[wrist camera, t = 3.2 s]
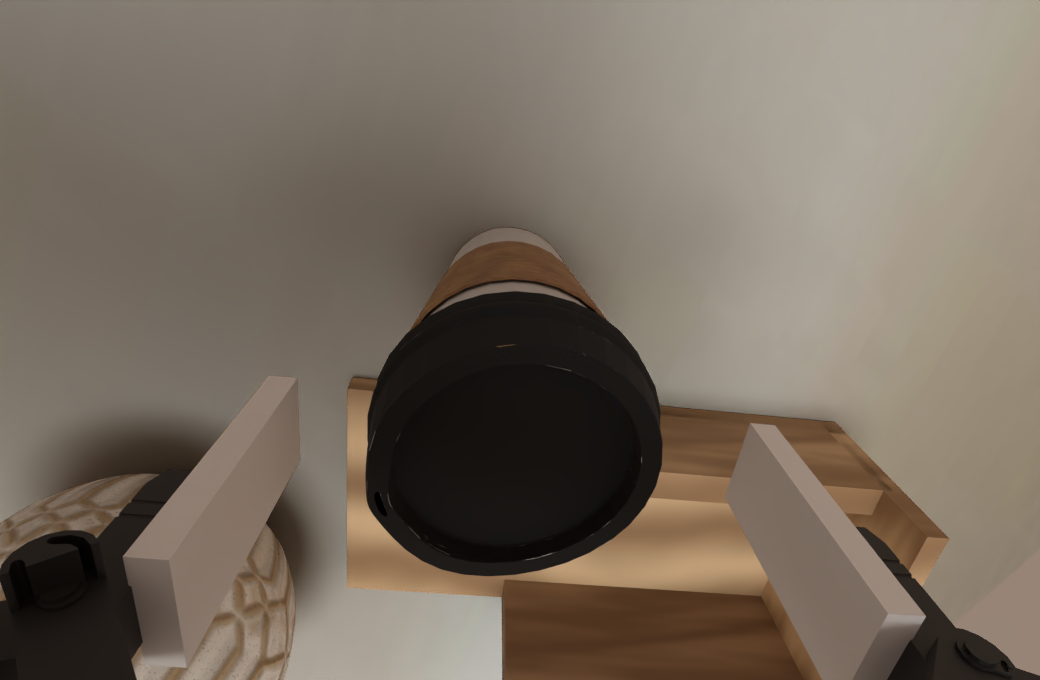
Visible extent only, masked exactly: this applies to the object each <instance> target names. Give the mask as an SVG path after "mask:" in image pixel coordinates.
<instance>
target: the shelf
mask: <svg viewBox="0 0 1040 680" xmlns="http://www.w3.org/2000/svg"><path fill="white" fill-rule="evenodd" d="M376 384H377V380H375V379H364V378H354V377H353V378H352V380H351V383H350V385H349V387H348V389H347V588H363V589H380V590H396V591H412V592H428V593H445V594H461V595H477V596H493V597H502V680H822V678H821V677H820V675H819V673H818V671H817V669H816V667H815V665H814V663H813V662H812V660H811V658H810V656H809V654H808V652H807V650H806V648H805V647H804V645H803V643H802V641H801V639H800V637H799V635H798V633H797V632H796V630H795V628H794V626H793V624H792V622H791V620H790V618H789V617H788V615H787V613H786V611H785V609H784V607H783V605H782V603H781V602H780V600H779V598H778V596H777V594H776V592H775V590H774V588H773V586H772V585H771V583H770V581H769V579H768V577H767V575H766V573H765V571H764V570H763V568H762V566H761V564H760V562H759V560H758V558H757V556H756V555H755V553H754V551H753V549H752V547H751V545H750V543H749V541H748V540H747V538H746V536H745V534H744V532H743V530H742V528H741V526H740V525H739V523H738V521H737V519H736V517H735V515H734V513H733V511H732V510H731V508H730V506H729V504H728V502H727V500H726V498H725V495H726V492H727V489H728V486H729V483H730V480H731V477H732V474H733V471H734V469H735V466H736V463H737V460H738V457H739V454H740V451H741V448H742V445H743V442H744V439H745V437H746V434H747V431H748V428H749V425H750V423H756V424H766V425H775V426H776V427H777V429H778V430H779V431H780V432H781V434H782V435H783V436H784V437H785V439H786V440H787V441H788V442H789V444H790V445H791V446H792V447H793V449H794V450H795V451H796V453H797V454H798V455H799V456H800V458H801V459H802V460H803V461H804V463H805V464H806V465H807V466H808V468H809V469H810V470H811V471H812V473H813V474H814V475H815V477H816V478H817V479H818V480H819V482H820V483H821V484H822V485H823V487H824V488H825V489H826V490H827V492H828V493H829V494H830V495H831V497H832V498H833V499H834V501H835V502H836V503H837V504H838V506H839V507H840V508H841V509H842V511H843V512H844V513H845V514H846V516H847V517H848V518H849V520H850V521H851V522H852V523H853V525H854V526H855V527H865V528H867V529H868V530H869V531H871V532H872V533H873V534H874V535H876V536H877V537H878V538H880V539H881V540H882V541H883V542H885V543H886V544H887V546H888V547H889V548H890V549H891V550H892V552H893V553H894V554H895V555H896V556H897V558H898V559H899V560H900V564H903V565H904V566H905V567H906V568H907V570H908V571H909V572H910V573H911V574H912V578H915V579H916V580H917V582H918V583H919V584H920V585H921V587H922V585H923V584H924V582H925V580H926V578H927V577H928V575H929V573H930V571H931V570H932V568H933V566H934V565H935V563H936V561H937V559H938V558H939V556H940V554H941V552H942V551H943V549H944V547H945V546H946V544H947V542H948V540H949V538H948V537H947V536H946V535H945V534H944V533H943V532H942V531H941V530H940V529H939V528H938V527H937V526H936V525H935V524H934V523H933V522H932V521H931V520H930V519H929V518H928V516H927V515H926V514H925V513H924V512H923V511H922V510H921V509H920V508H919V507H918V506H917V505H916V504H915V503H914V502H913V501H912V500H911V499H910V498H909V497H908V496H907V495H906V494H905V493H904V492H903V491H902V490H901V489H900V488H899V487H898V486H897V485H896V484H895V483H894V482H893V481H892V480H891V479H890V478H889V477H888V476H887V475H886V474H885V473H884V472H883V471H882V470H881V469H880V468H879V466H878V465H877V464H876V463H875V462H874V461H873V460H872V459H871V458H870V457H869V456H868V455H867V454H866V453H865V452H864V451H863V450H862V449H861V448H860V447H859V446H858V445H857V444H856V443H855V442H854V441H853V440H852V439H851V438H850V437H849V436H848V435H847V434H846V433H845V432H844V431H843V430H842V429H841V428H840V427H839V426H838V425H837V424H836V423H835V422H827V421H816V420H805V419H795V418H784V417H773V416H762V415H752V414H741V413H730V412H719V411H708V410H698V409H687V408H676V407H665V406H660V410H661V416H660V429H661V435H662V441H663V448H662V467H661V470H660V474H659V477H658V481H657V484H656V487H655V489H654V491H653V493H652V495H651V496H650V498H649V500H648V502H647V504H646V506H645V507H644V508H643V510H642V511H641V512H640V513H639V514H638V516H637V517H636V518H635V519H634V520H633V521H632V523H631V524H630V525H629V526H628V527H626V528H625V529H624V530H623V531H622V532H620V533H619V534H618V535H617V536H616V537H614V538H613V539H612V540H610V541H609V542H607V543H605V544H604V545H602V546H600V547H599V548H597V549H595V550H593V551H592V552H590V553H588V554H586V555H583V556H581V557H579V558H576V559H574V560H572V561H569V562H567V563H564V564H561V565H557V566H554V567H550V568H547V569H544V570H540V571H534V572H529V573H523V574H517V575H505V576H475V575H463V574H458V573H454V572H450V571H445V570H441V569H439V568H437V567H434V566H432V565H430V564H428V563H425V562H423V561H421V560H420V559H418V558H417V557H415V556H414V555H413V554H411V553H410V552H408V551H407V550H405V549H404V548H403V547H402V546H401V545H400V544H399V543H398V542H397V541H396V540H395V539H394V538H393V537H392V536H391V535H390V534H389V533H388V532H387V531H386V530H385V529H384V528H383V526H382V525H381V524H380V523H379V522H378V520H377V519H376V518H375V517H374V515H373V514H372V512H371V511H370V509H369V507H368V504H367V498H366V481H365V473H366V456H367V447H368V441H367V415H368V411H369V407H370V403H371V399H372V395H373V391H374V389H375V387H376Z"/></svg>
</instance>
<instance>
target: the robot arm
mask: <svg viewBox="0 0 1040 680" xmlns="http://www.w3.org/2000/svg"><path fill="white" fill-rule="evenodd" d="M299 461H300V437H299V409H298V382H297V378H290V377H280V376H270V375H269V376H268V378H267V379H266V380H265V381H264V383H263V384H262V385H261V386H260V387H259V389H258V390H257V391H256V392H255V394H254V395H253V396H252V397H251V399H250V400H249V401H248V402H247V404H246V405H245V406H244V407H243V409H242V410H241V411H240V412H239V413H238V415H237V416H236V417H235V418H234V420H233V421H232V422H231V423H230V425H229V426H228V427H227V428H226V430H225V431H224V432H223V433H222V434H221V436H220V437H219V438H218V439H217V441H216V442H215V443H214V444H213V446H212V447H211V448H210V449H209V451H208V452H207V453H206V454H205V456H204V457H203V458H202V459H201V460H200V462H199V463H198V464H197V465H196V467H195V468H194V469H193V470H192V471H186V470H174V469H168V470H166V471H165V472H163V473H162V474H160V475H158V476H157V477H155V478H153V479H152V480H150V481H148V482H147V483H146V484H145V485H144V486H143V487H142V488H141V489H140V490H139V492H138V493H137V494H136V495H135V496H134V497H133V498H132V501H131V503H128V504H127V505H126V506H125V507H124V508H123V509H122V510H121V512H120V513H119V516H118V517H115V518H114V519H113V521H112V522H111V523H110V524H109V525H108V526H107V527H106V528H105V529H104V531H103V532H102V533H101V534H100V535H99V536H98V537H97V538H96V537H95V536H94V535H93V534H91V533H88V532H85V531H82V530H64V531H59V532H55V533H50V534H46V535H44V536H41V537H39V538H36V539H34V540H32V541H29V542H27V543H26V544H24V545H23V546H21V547H20V548H18V549H17V550H15V551H14V552H12V553H11V554H10V555H9V557H8V558H7V559H6V560H5V561H4V562H3V563H2V565H1V568H0V583H1V586H2V589H3V592H4V595H5V598H6V600H4V601H0V680H137V678H136V675H135V671H134V668H133V664H132V661H131V660H132V658H133V657H134V655H135V653H136V652H137V650H138V649H139V647H140V646H141V647H142V652H143V657H144V662H145V665H149V666H165V667H182V668H187V666H188V665H189V663H190V661H191V659H192V657H193V655H194V654H195V652H196V650H197V648H198V646H199V644H200V643H201V641H202V639H203V637H204V635H205V633H206V632H207V630H208V628H209V626H210V624H211V622H212V621H213V619H214V617H215V615H216V613H217V611H218V610H219V608H220V606H221V604H222V602H223V600H224V599H225V597H226V595H227V593H228V591H229V589H230V588H231V586H232V584H233V582H234V580H235V578H236V577H237V575H238V573H239V571H240V569H241V567H242V566H243V564H244V562H245V560H246V558H247V556H248V555H249V553H250V551H251V549H252V547H253V545H254V543H255V542H256V540H257V538H258V536H259V534H260V532H261V531H262V529H263V527H264V525H265V523H266V521H267V520H268V518H269V516H270V514H271V512H272V510H273V509H274V507H275V505H276V503H277V501H278V499H279V498H280V496H281V494H282V492H283V490H284V488H285V487H286V485H287V483H288V481H289V479H290V477H291V476H292V474H293V472H294V470H295V468H296V466H297V465H298V463H299ZM725 498H726V500H727V502H728V504H729V506H730V508H731V510H732V511H733V513H734V515H735V517H736V519H737V521H738V523H739V525H740V526H741V528H742V530H743V532H744V534H745V536H746V538H747V540H748V541H749V543H750V545H751V547H752V549H753V551H754V553H755V555H756V556H757V558H758V560H759V562H760V564H761V566H762V568H763V570H764V571H765V573H766V575H767V577H768V579H769V581H770V583H771V585H772V586H773V588H774V590H775V592H776V594H777V596H778V598H779V600H780V602H781V603H782V605H783V607H784V609H785V611H786V613H787V615H788V617H789V618H790V620H791V622H792V624H793V626H794V628H795V630H796V632H797V633H798V635H799V637H800V639H801V641H802V643H803V645H804V647H805V648H806V650H807V652H808V654H809V656H810V658H811V660H812V662H813V663H814V665H815V667H816V669H817V671H818V673H819V675H820V677H821V678H822V680H1040V676H1038V675H1035V674H1032V673H1029V672H1026V671H1023V670H1020V669H1017V668H1015V666H1014V665H1013V664H1012V662H1011V661H1010V660H1009V658H1008V657H1007V656H1006V655H1005V654H1004V653H1002V652H1001V651H1000V650H999V649H998V648H997V647H996V646H994V645H993V644H991V643H990V642H988V641H987V640H985V639H983V638H982V637H980V636H979V635H976V634H974V633H971V632H969V631H967V630H964V629H959V628H955V626H954V625H953V624H952V623H951V621H950V620H949V619H948V618H947V617H946V615H945V614H944V613H943V612H942V611H941V609H940V608H939V607H938V606H937V605H936V603H935V602H934V601H933V600H932V599H931V597H930V596H929V595H928V594H927V593H926V591H925V590H924V589H923V588H922V587H921V585H920V584H919V583H918V582H917V580H916V579H915V578H912V574H911V573H910V572H909V571H908V570H907V568H906V567H905V566H904V565H903V564H900V560H899V559H898V558H897V556H896V555H895V554H894V553H893V552H892V550H891V549H890V548H889V547H888V546H887V544H886V543H885V542H883V541H882V540H881V539H880V538H878V537H877V536H876V535H874V534H873V533H872V532H871V531H869V530H868V529H867V528H865V527H855V526H854V525H853V523H852V522H851V521H850V520H849V518H848V517H847V516H846V514H845V513H844V512H843V511H842V509H841V508H840V507H839V506H838V504H837V503H836V502H835V501H834V499H833V498H832V497H831V495H830V494H829V493H828V492H827V490H826V489H825V488H824V487H823V485H822V484H821V483H820V482H819V480H818V479H817V478H816V477H815V475H814V474H813V473H812V471H811V470H810V469H809V468H808V466H807V465H806V464H805V463H804V461H803V460H802V459H801V458H800V456H799V455H798V454H797V453H796V451H795V450H794V449H793V447H792V446H791V445H790V444H789V442H788V441H787V440H786V439H785V437H784V436H783V435H782V434H781V432H780V431H779V430H778V429H777V427H776V426H775V425H766V424H756V423H750V425H749V428H748V431H747V434H746V437H745V439H744V442H743V445H742V448H741V451H740V454H739V457H738V460H737V463H736V466H735V469H734V471H733V474H732V477H731V480H730V483H729V486H728V489H727V492H726V495H725Z"/></svg>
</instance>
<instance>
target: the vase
mask: <svg viewBox="0 0 1040 680" xmlns="http://www.w3.org/2000/svg"><path fill="white" fill-rule="evenodd" d="M158 475H160V474H128V475H120V476H115V477H110V478H105V479H100V480H96V481H91V482H88V483H84V484H81V485H78V486H75V487H72V488H69V489H66V490H64V491H61V492H58V493H56V494H54V495H51V496H49V497H47V498H45V499H42V500H40V501H38V502H36V503H34V504H32V505H29V506H27V507H26V508H24V509H22V510H21V511H19V512H17V513H16V514H14V515H12V516H11V517H9V518H8V519H6V520H4V521H3V522H1V523H0V568H1V565H2V563H3V562H4V561H5V560H6V559H7V558H8V557H9V555H10V554H11V553H12V552H14V551H15V550H17V549H18V548H20V547H21V546H23V545H24V544H26V543H27V542H29V541H32V540H34V539H36V538H39V537H41V536H44V535H46V534H50V533H55V532H59V531H64V530H82V531H85V532H88V533H91V534H93V535H94V536H95V537H96V538H97V537H98V536H99V535H100V534H101V533H102V532H103V531H104V529H105V528H106V527H107V526H108V525H109V524H110V523H111V522H112V521H113V519H114V518H115V517H118V516H119V513H120V512H121V510H122V509H123V508H124V507H125V506H126V505H127V504H128V503H131V501H132V498H133V497H134V496H135V495H136V494H137V493H138V492H139V490H140V489H141V488H142V487H143V486H144V485H145V484H146V483H147V482H148V481H150V480H152V479H153V478H155V477H157V476H158ZM4 600H6V598H5V595H4V592H3V589H2V586H1V583H0V601H4ZM294 629H295V595H294V588H293V581H292V576H291V572H290V568H289V565H288V562H287V559H286V556H285V553H284V551H283V549H282V547H281V545H280V543H279V541H278V539H277V538H276V536H275V535H274V533H273V532H272V531H271V529H270V528H269V527H268V526H267V524H266V523H265V525H264V527H263V529H262V531H261V532H260V534H259V536H258V538H257V540H256V542H255V543H254V545H253V547H252V549H251V551H250V553H249V555H248V556H247V558H246V560H245V562H244V564H243V566H242V567H241V569H240V571H239V573H238V575H237V577H236V578H235V580H234V582H233V584H232V586H231V588H230V589H229V591H228V593H227V595H226V597H225V599H224V600H223V602H222V604H221V606H220V608H219V610H218V611H217V613H216V615H215V617H214V619H213V621H212V622H211V624H210V626H209V628H208V630H207V632H206V633H205V635H204V637H203V639H202V641H201V643H200V644H199V646H198V648H197V650H196V652H195V654H194V655H193V657H192V659H191V661H190V663H189V665H188V666H187V668H182V667H165V666H149V665H145V662H144V657H143V652H142V647H141V646H140V647H139V649H138V650H137V652H136V653H135V655H134V657H133V658H132V660H131V661H132V664H133V668H134V671H135V675H136V678H137V680H284V677H285V674H286V670H287V666H288V662H289V658H290V653H291V649H292V643H293V636H294Z"/></svg>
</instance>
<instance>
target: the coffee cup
mask: <svg viewBox="0 0 1040 680" xmlns="http://www.w3.org/2000/svg"><path fill="white" fill-rule="evenodd" d="M660 416H661V410H660V406H659V401H658V397H657V393H656V388H655V385H654V383H653V381H652V379H651V377H650V375H649V373H648V371H647V369H646V367H645V365H644V364H643V362H642V361H641V359H640V356H639V354H638V352H637V351H636V350H635V349H634V347H633V346H632V345H631V344H630V342H629V341H628V340H627V339H626V337H625V336H624V335H623V334H622V333H621V332H620V331H619V330H618V329H617V328H615V327H614V326H613V325H612V324H611V323H609V322H608V321H607V319H606V318H605V317H604V315H603V314H602V313H601V311H600V310H599V309H598V307H597V306H596V305H595V303H594V302H593V301H592V300H591V298H590V297H589V296H588V294H587V293H586V292H585V290H584V289H583V288H582V286H581V285H580V284H579V282H578V281H577V280H576V278H575V277H574V276H573V274H572V273H571V272H570V271H569V269H568V268H567V267H566V266H565V264H564V262H563V261H562V259H561V258H560V256H559V255H558V254H557V252H556V251H555V250H554V249H553V247H552V246H551V245H550V244H549V243H547V242H546V241H545V240H544V239H542V238H541V237H539V236H537V235H535V234H534V233H532V232H529V231H525V230H522V229H518V228H497V229H492V230H489V231H486V232H483V233H481V234H479V235H477V236H476V237H474V238H472V239H471V240H470V241H469V242H467V243H466V244H465V245H464V246H463V247H462V248H461V249H460V251H459V252H458V253H457V254H456V256H455V258H454V259H453V261H452V263H451V265H450V267H449V269H448V271H447V272H446V273H445V275H444V276H443V278H442V280H441V281H440V283H439V284H438V286H437V288H436V289H435V291H434V293H433V294H432V296H431V297H430V299H429V301H428V302H427V304H426V306H425V307H424V309H423V310H422V312H421V314H420V315H419V317H418V318H417V320H416V322H415V323H414V325H413V327H412V328H411V330H410V332H408V333H407V334H406V335H405V336H404V338H403V339H402V340H401V341H400V342H399V344H398V345H397V346H396V347H395V349H394V350H393V351H392V352H391V353H390V355H389V357H388V359H387V361H386V363H385V365H384V367H383V369H382V371H381V373H380V375H379V377H378V380H377V384H376V387H375V389H374V391H373V395H372V399H371V403H370V407H369V411H368V415H367V441H368V447H367V456H366V473H365V481H366V498H367V504H368V507H369V509H370V511H371V512H372V514H373V515H374V517H375V518H376V519H377V520H378V522H379V523H380V524H381V525H382V526H383V528H384V529H385V530H386V531H387V532H388V533H389V534H390V535H391V536H392V537H393V538H394V539H395V540H396V541H397V542H398V543H399V544H400V545H401V546H402V547H403V548H404V549H405V550H407V551H408V552H410V553H411V554H413V555H414V556H415V557H417V558H418V559H420V560H421V561H423V562H425V563H428V564H430V565H432V566H434V567H437V568H439V569H441V570H445V571H450V572H454V573H458V574H463V575H475V576H505V575H517V574H523V573H529V572H534V571H540V570H544V569H547V568H550V567H554V566H557V565H561V564H564V563H567V562H569V561H572V560H574V559H576V558H579V557H581V556H583V555H586V554H588V553H590V552H592V551H593V550H595V549H597V548H599V547H600V546H602V545H604V544H605V543H607V542H609V541H610V540H612V539H613V538H614V537H616V536H617V535H618V534H619V533H620V532H622V531H623V530H624V529H625V528H626V527H628V526H629V525H630V524H631V523H632V521H633V520H634V519H635V518H636V517H637V516H638V514H639V513H640V512H641V511H642V510H643V508H644V507H645V506H646V504H647V502H648V500H649V498H650V496H651V495H652V493H653V491H654V489H655V487H656V484H657V481H658V477H659V474H660V470H661V467H662V448H663V441H662V435H661V429H660Z"/></svg>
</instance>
